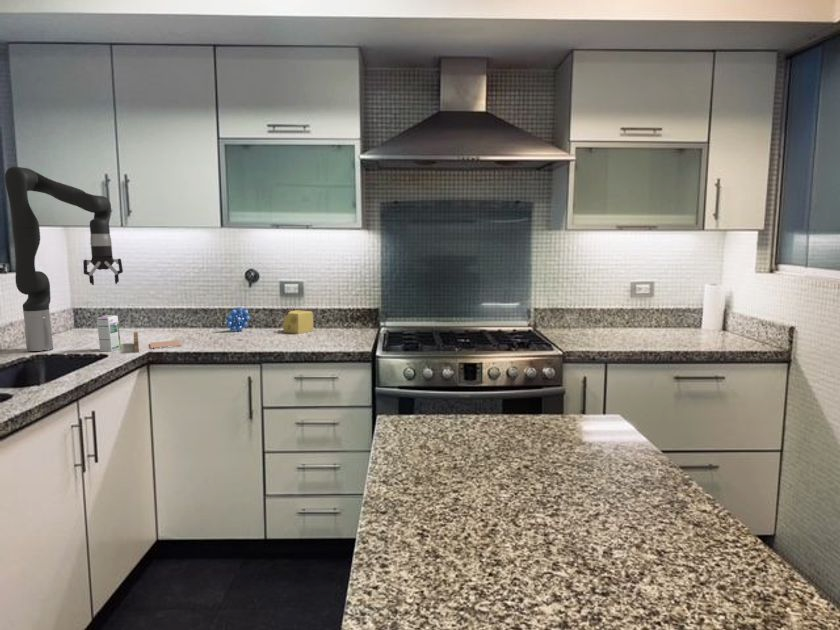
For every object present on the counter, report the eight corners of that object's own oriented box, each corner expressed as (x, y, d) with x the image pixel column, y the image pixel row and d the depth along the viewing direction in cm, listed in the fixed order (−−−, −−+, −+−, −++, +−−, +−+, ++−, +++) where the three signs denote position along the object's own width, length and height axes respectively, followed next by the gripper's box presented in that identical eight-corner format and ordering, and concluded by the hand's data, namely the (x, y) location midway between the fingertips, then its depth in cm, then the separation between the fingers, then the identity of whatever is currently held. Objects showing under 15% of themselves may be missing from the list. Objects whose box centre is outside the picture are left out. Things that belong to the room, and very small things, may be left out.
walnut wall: (139, 352, 242) (138, 340, 241) (134, 352, 241) (133, 340, 241) (138, 343, 262) (137, 332, 261) (134, 343, 261) (133, 332, 260)
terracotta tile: (150, 349, 248) (150, 347, 248) (150, 344, 259) (149, 342, 259) (181, 346, 254) (181, 345, 254) (179, 341, 264) (179, 340, 264)
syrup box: (111, 351, 244) (108, 317, 242) (99, 351, 245) (96, 316, 243) (121, 348, 249) (118, 315, 247) (109, 348, 251) (106, 314, 248)
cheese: (283, 332, 286) (282, 312, 285) (299, 329, 295) (299, 309, 294) (298, 334, 281) (297, 313, 279) (314, 331, 289) (313, 311, 288)
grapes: (249, 329, 295) (248, 305, 293) (251, 331, 289) (250, 307, 287) (225, 331, 291) (224, 307, 289) (227, 333, 284) (225, 308, 283)
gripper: (120, 244, 247) (123, 282, 250) (82, 245, 241) (85, 284, 243) (120, 244, 240) (123, 284, 243) (80, 245, 234) (84, 285, 237)
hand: (104, 284), depth 243 cm, fingers open, 8 cm apart
